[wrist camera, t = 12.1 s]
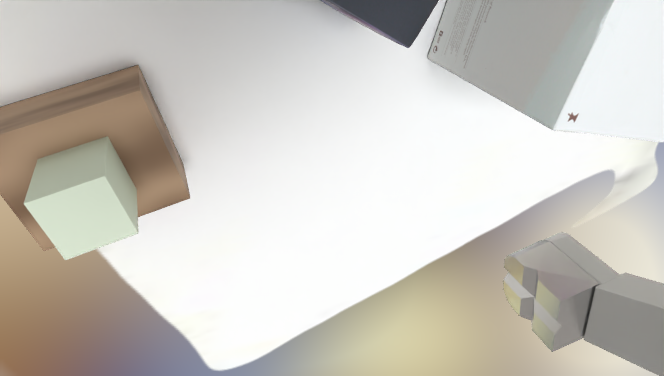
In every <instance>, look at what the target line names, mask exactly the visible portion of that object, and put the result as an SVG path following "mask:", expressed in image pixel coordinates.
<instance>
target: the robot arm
mask: <svg viewBox="0 0 664 376" xmlns="http://www.w3.org/2000/svg"><path fill="white" fill-rule="evenodd" d="M504 268H505V269H506V270H507V271H508V274H507V275H506V277H505V278H504V280H503V287H504V288H503V290H504V292H505V295H506V298H507V300H508V302H509V304H510V305H511V307H512V308H513V309H514V310H515V312H516V313H517V314H518V315H519V316H521V317H523V318H526V319H529V320H531V322H532V330H533V332H534V333H535V334H536V335H537V336H538V337H539V338H540V339H541V340H542V341H543V343H544V344H545V345H546V346H547V347H548V348H549V349H550V350H551V351H552V352H553V351H555V350H558V349H560V348H562V347H564V346H567V345H569V344H571V343H573V342H575V341H578V340H580V339H582V338H584V340H585V341H587V342H589V343H592V344H593V345H596V346H598V347H600V348H602V349H604V350H606V351H608V352H610V353H613V354H615V355H617V356H619V357H621V358H623V359H625V360H627V361H630V362H631V363H634V364H636V365H638V366H640V367H643V368H644V369H646V370H648V371H651V372H653V373H655V374H657V375H659V376H664V284H663V283H660V282H656V281H653V280H649V279H646V278H642V277H638V276H635V275H631V274H628V273H624V274H621V275H619V274H618V273H617V272H616V271H614V270H613V269H612V268H611V267H609V266H608V265H607V264H606V263H604V262H603V261H602V260H600V259H599V258H598V257H597V256H595V255H594V254H593V253H592V252H590V251H589V250H588V249H587V248H585V247H584V246H583V245H582V244H580V243H579V242H578V241H576V240H575V239H574V238H573V237H571V236H570V235H569V234H567V233H564V232H561V233H557V234H555V235H553V236H551V237H549V238H547V239H545V240H541V241H538V242H536V243H534V244H532V245H530V246H528V247H525V248H523V249H521V250H519V251H517V252H514V253H512V254H510V255H508V256H507V257H506V258H505V261H504Z"/></svg>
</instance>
